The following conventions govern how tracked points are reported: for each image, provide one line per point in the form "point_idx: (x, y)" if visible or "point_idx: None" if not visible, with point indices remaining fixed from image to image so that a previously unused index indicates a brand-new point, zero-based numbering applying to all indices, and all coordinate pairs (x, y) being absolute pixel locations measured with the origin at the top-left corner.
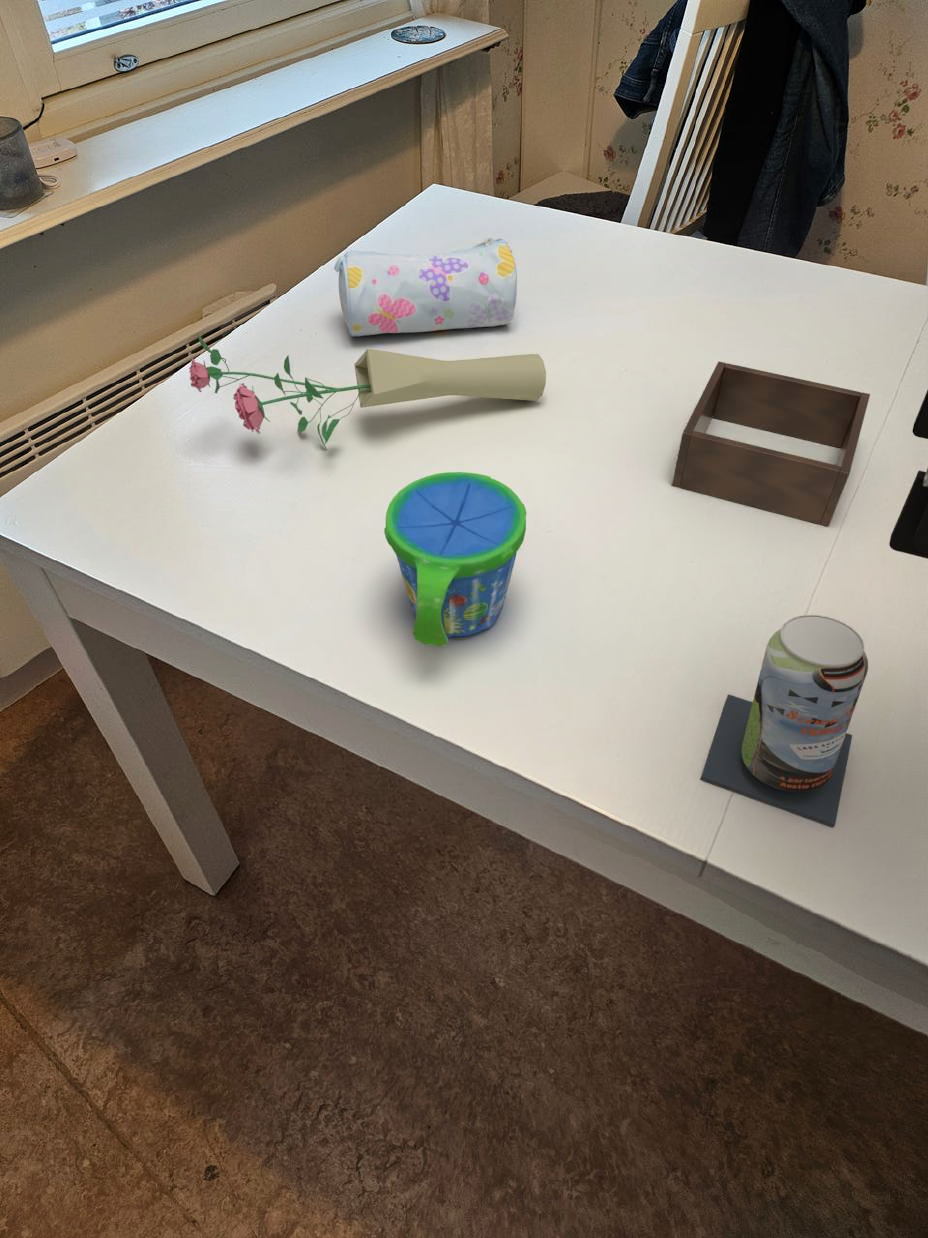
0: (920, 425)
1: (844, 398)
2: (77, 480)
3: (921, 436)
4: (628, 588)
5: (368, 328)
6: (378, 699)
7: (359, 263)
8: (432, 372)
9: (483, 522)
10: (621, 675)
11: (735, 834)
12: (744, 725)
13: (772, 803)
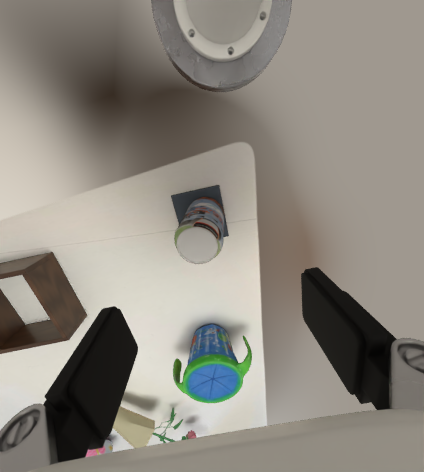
0: (134, 358)
1: None
2: None
3: (135, 344)
4: (158, 298)
5: (106, 444)
6: (260, 330)
7: None
8: (123, 424)
9: (206, 373)
10: (201, 279)
11: (243, 214)
12: None
13: (223, 209)
